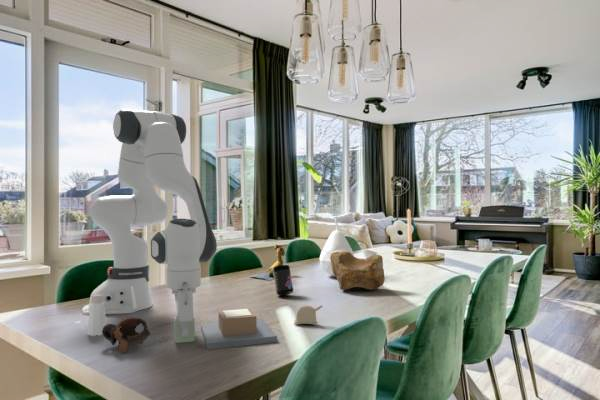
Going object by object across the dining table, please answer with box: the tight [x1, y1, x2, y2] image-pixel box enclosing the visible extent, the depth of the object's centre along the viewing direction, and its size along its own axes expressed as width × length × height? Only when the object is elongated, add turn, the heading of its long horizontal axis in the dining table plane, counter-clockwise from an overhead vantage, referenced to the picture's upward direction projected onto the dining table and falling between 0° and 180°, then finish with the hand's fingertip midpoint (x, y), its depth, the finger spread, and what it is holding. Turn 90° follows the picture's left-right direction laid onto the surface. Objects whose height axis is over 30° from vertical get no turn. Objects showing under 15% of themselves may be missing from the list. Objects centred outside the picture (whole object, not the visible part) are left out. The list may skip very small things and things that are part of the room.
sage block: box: [173, 314, 196, 344], centre depth 115 cm, size 5×5×6 cm
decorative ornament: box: [293, 304, 323, 326], centre depth 129 cm, size 4×8×5 cm, turn 87°
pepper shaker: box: [86, 294, 107, 337], centre depth 121 cm, size 5×5×11 cm
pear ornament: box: [318, 218, 355, 278], centre depth 209 cm, size 16×22×28 cm
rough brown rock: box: [330, 251, 385, 291], centre depth 177 cm, size 23×17×15 cm
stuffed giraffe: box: [248, 244, 286, 282], centre depth 208 cm, size 16×18×16 cm
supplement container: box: [273, 264, 294, 297], centre depth 167 cm, size 7×7×10 cm
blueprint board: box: [200, 307, 278, 350], centre depth 119 cm, size 18×18×6 cm
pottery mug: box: [102, 316, 151, 354], centre depth 109 cm, size 12×9×8 cm
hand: (184, 331), depth 115 cm, fingers open, 5 cm apart
